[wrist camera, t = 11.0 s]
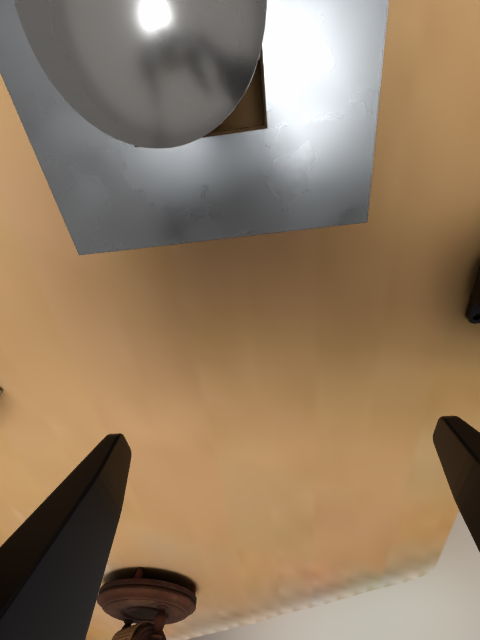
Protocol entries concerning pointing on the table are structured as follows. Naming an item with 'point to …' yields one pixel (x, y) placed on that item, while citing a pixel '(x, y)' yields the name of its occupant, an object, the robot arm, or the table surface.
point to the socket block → (221, 140)
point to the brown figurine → (145, 605)
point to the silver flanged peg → (148, 62)
